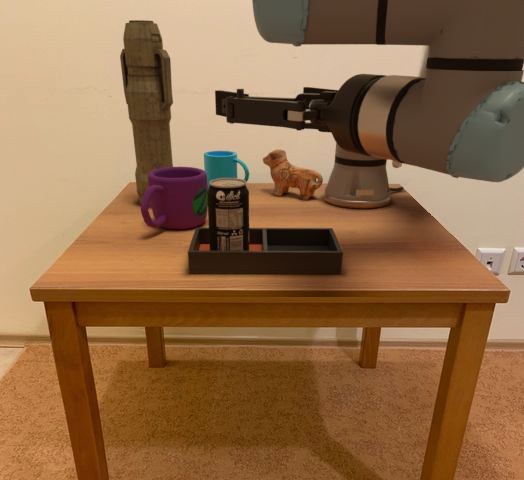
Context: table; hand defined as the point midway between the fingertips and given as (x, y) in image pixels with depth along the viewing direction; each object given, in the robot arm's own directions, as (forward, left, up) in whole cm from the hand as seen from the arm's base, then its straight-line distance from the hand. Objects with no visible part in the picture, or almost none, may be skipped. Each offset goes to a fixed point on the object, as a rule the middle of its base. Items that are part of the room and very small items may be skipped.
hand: (263, 100), depth 66 cm
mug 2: (-20, -55, -25) cm, 64 cm away
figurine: (-31, -42, -25) cm, 58 cm away
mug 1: (+3, -31, -25) cm, 40 cm away
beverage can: (+1, -10, -24) cm, 26 cm away
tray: (-4, -7, -25) cm, 26 cm away
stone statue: (0, -50, -25) cm, 56 cm away
